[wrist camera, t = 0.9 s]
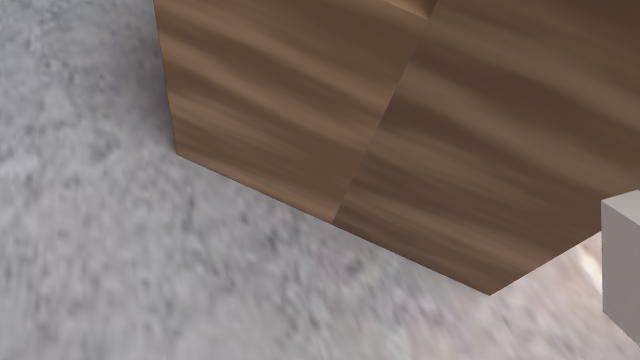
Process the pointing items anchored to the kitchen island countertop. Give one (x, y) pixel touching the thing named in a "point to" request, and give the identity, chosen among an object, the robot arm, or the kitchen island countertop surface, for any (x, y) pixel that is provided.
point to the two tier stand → (417, 118)
